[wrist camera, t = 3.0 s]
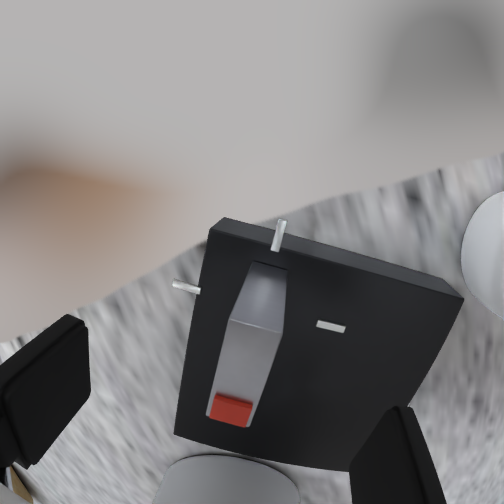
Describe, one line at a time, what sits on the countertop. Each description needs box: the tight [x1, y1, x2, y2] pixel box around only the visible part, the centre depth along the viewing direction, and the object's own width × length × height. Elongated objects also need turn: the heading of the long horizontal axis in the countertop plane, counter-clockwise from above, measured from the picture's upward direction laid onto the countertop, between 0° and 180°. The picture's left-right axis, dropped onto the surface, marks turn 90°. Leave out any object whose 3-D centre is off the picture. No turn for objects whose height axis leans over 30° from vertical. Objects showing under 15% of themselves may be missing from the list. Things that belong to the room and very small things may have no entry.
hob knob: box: [206, 261, 288, 427], centre depth 12 cm, size 4×2×6 cm, turn 166°
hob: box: [172, 217, 464, 472], centre depth 17 cm, size 15×14×3 cm
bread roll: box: [10, 466, 33, 504], centre depth 30 cm, size 10×15×8 cm, turn 179°
